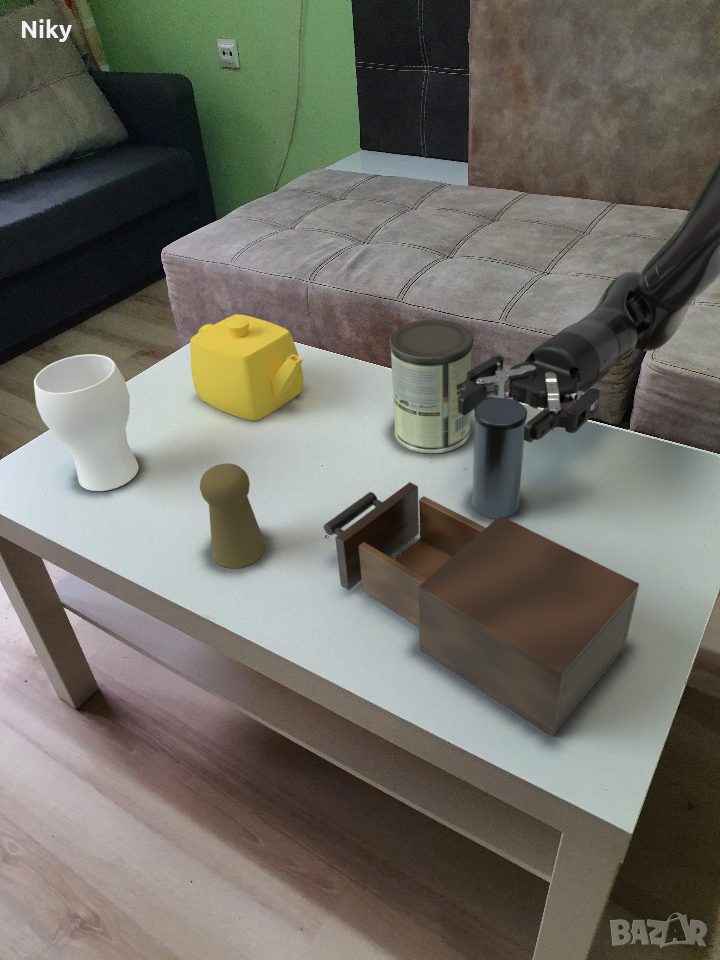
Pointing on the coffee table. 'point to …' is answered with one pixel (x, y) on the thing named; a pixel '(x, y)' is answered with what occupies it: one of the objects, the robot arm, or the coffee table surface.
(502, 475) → the slate tube
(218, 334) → the teapot
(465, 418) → the coffee can
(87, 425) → the cup
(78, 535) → the coffee table surface
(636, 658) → the coffee table surface
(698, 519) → the coffee table surface
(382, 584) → the drawer
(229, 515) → the pepper shaker
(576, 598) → the cabinet
